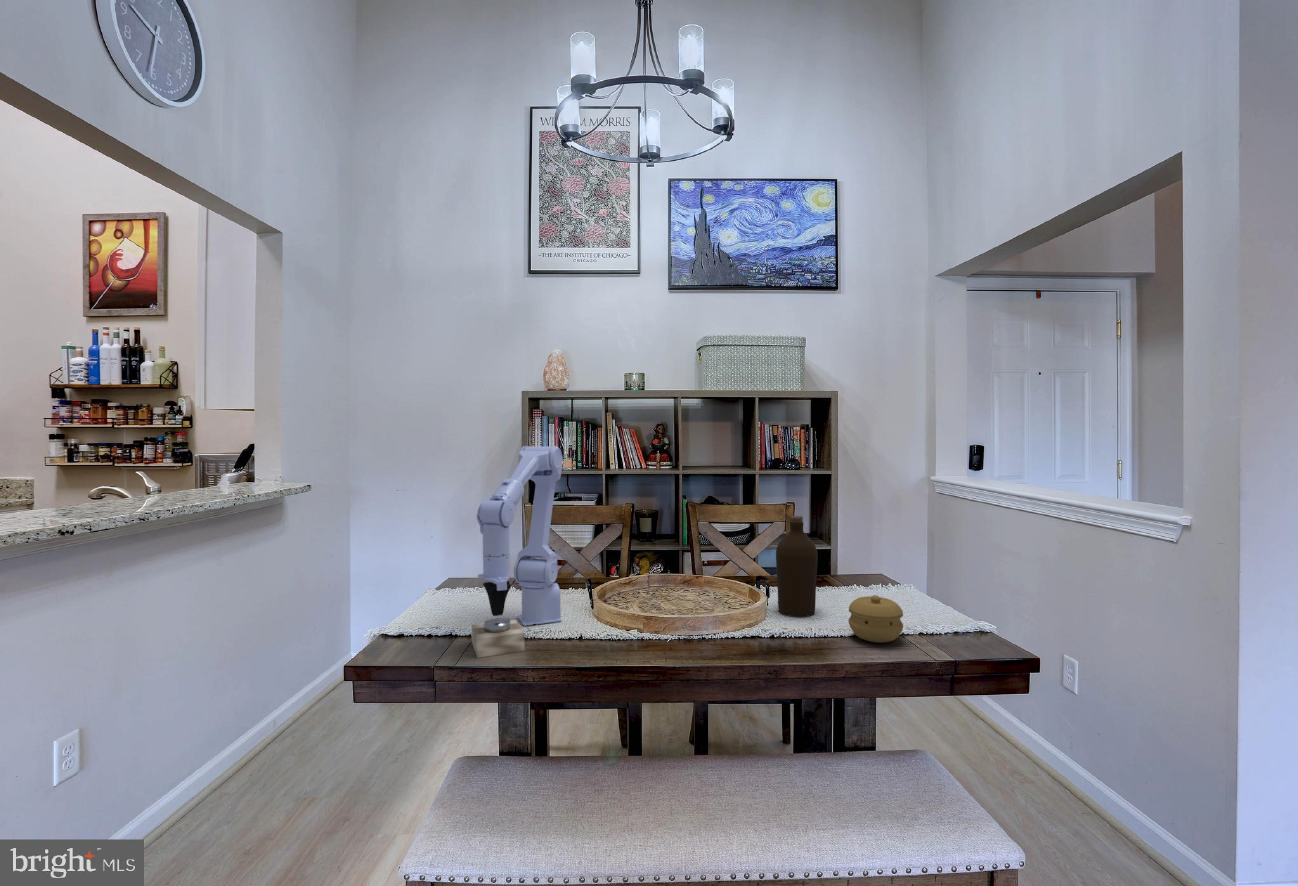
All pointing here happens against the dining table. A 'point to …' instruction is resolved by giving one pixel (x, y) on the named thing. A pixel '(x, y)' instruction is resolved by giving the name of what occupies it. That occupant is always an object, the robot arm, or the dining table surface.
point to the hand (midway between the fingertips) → (497, 614)
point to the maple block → (497, 640)
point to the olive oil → (796, 572)
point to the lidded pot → (875, 619)
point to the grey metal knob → (497, 625)
